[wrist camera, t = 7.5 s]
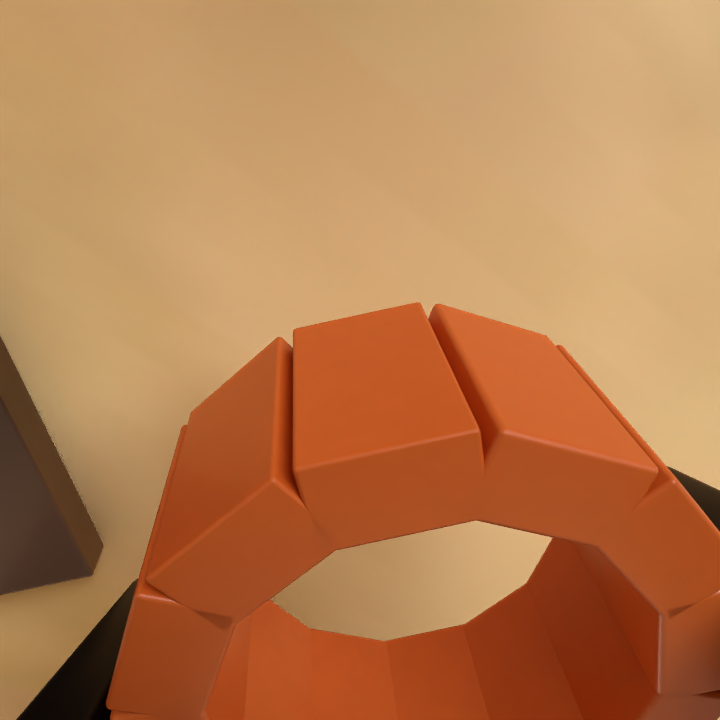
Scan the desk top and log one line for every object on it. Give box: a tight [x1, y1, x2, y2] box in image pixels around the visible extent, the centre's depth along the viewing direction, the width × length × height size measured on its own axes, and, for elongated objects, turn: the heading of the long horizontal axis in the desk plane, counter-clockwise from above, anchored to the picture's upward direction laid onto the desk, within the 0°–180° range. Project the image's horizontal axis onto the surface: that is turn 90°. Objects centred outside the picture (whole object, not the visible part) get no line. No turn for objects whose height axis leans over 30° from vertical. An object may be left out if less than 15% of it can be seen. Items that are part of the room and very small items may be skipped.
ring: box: [106, 302, 720, 720], centre depth 8 cm, size 7×7×3 cm
